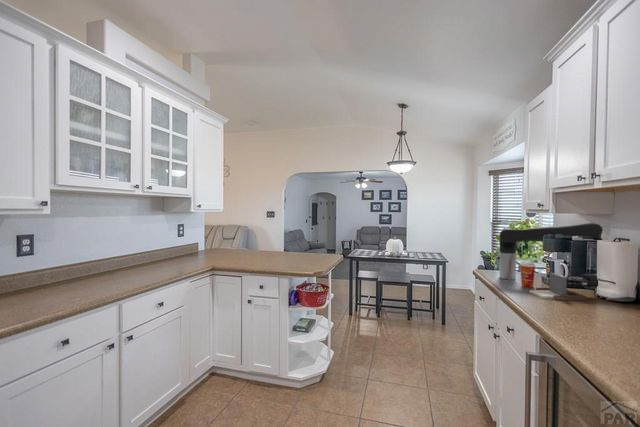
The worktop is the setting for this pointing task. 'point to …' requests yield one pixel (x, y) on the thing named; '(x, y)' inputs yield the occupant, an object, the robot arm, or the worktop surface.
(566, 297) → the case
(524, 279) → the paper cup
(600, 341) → the worktop surface
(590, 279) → the robot arm
